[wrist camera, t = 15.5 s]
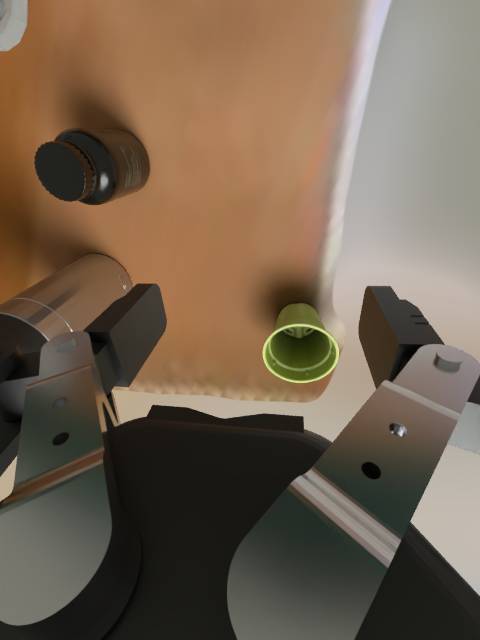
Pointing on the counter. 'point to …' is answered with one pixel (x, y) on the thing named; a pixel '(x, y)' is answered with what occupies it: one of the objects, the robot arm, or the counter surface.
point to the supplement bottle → (92, 165)
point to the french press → (12, 22)
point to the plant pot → (300, 346)
